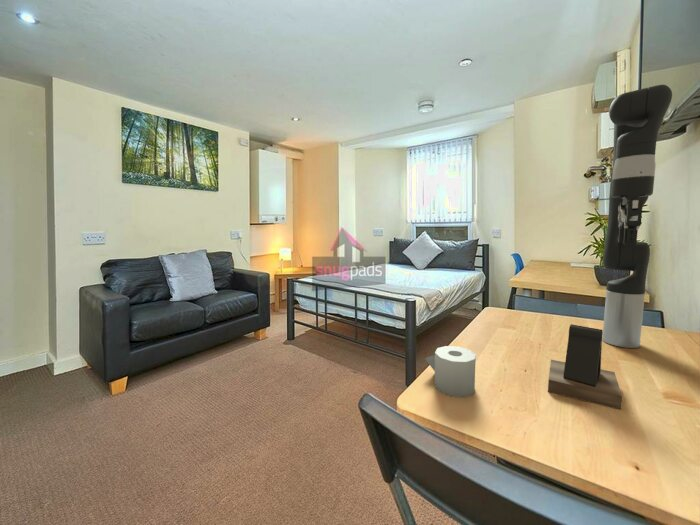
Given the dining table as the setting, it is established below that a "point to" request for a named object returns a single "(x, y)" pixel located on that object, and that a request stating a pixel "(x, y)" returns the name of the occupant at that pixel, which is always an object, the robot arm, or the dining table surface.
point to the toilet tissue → (454, 370)
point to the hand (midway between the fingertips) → (626, 243)
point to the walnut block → (586, 387)
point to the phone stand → (583, 355)
